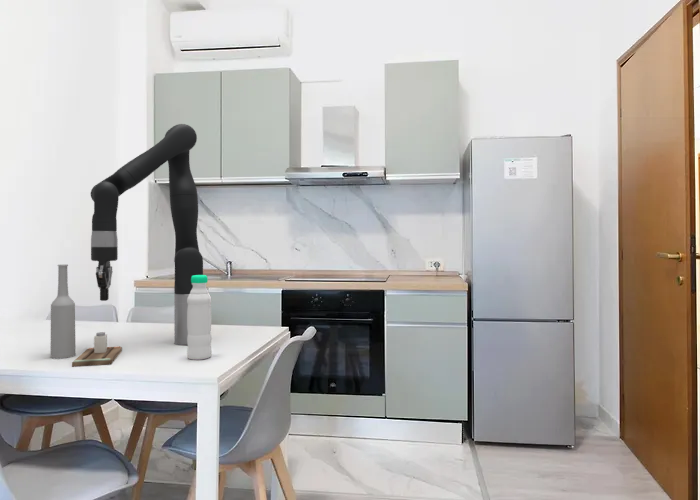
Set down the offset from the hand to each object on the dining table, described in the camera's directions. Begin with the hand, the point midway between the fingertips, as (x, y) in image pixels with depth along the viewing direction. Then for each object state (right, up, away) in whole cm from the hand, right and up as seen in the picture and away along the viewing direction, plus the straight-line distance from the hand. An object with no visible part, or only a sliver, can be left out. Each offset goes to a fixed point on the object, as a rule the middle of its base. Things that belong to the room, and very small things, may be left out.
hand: (104, 300), depth 153 cm
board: (+2, -17, -8) cm, 19 cm away
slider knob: (+2, -15, -5) cm, 16 cm away
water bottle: (+32, -17, -6) cm, 37 cm away
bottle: (-10, -17, -5) cm, 20 cm away
